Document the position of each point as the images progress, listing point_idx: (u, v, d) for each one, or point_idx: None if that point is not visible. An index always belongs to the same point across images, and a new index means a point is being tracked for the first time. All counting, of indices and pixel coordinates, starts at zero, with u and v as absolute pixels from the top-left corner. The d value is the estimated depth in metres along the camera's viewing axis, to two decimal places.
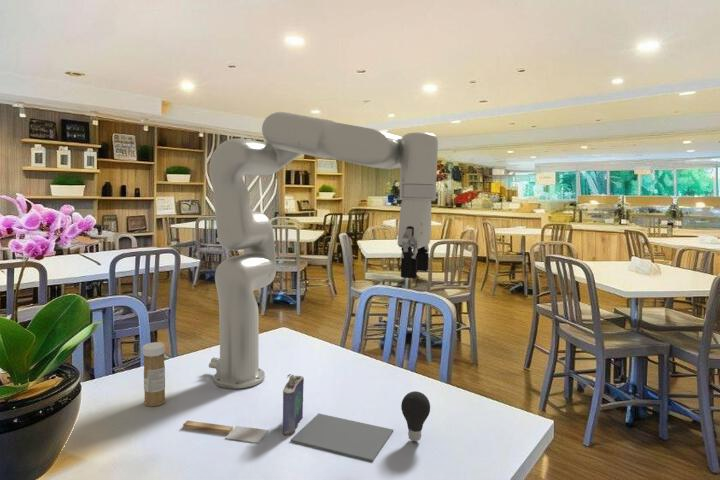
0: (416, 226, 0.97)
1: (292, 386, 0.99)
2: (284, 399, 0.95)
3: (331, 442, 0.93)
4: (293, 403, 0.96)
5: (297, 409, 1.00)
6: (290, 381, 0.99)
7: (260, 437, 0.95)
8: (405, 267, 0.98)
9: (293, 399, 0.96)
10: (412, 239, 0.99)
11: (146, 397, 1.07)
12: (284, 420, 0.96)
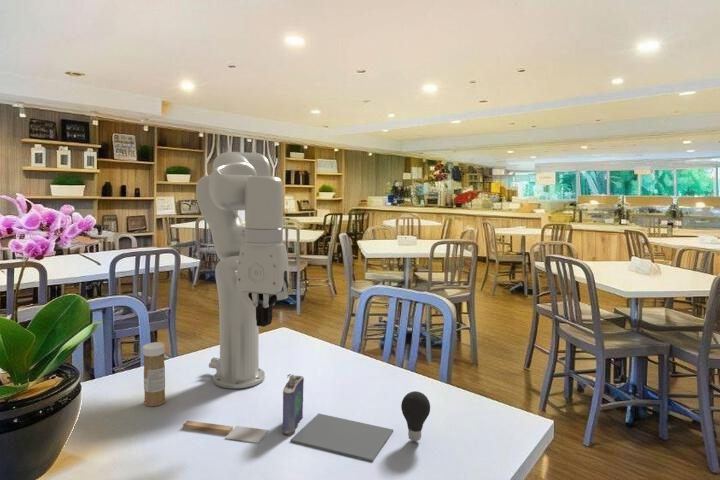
0: (288, 269, 0.99)
1: (292, 386, 0.99)
2: (284, 399, 0.95)
3: (331, 442, 0.93)
4: (293, 403, 0.96)
5: (297, 409, 1.00)
6: (290, 381, 0.99)
7: (260, 437, 0.95)
8: (269, 315, 0.99)
9: (293, 399, 0.96)
10: None
11: (146, 397, 1.07)
12: (284, 420, 0.96)
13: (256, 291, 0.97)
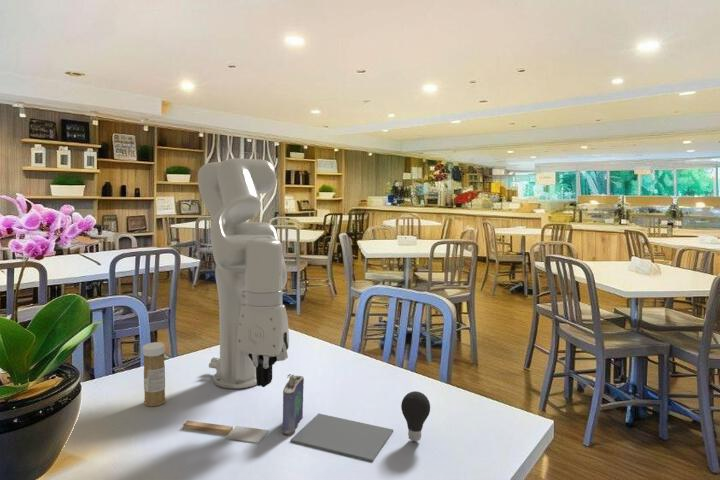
0: (287, 330, 1.00)
1: (292, 386, 0.99)
2: (284, 399, 0.95)
3: (331, 442, 0.93)
4: (293, 403, 0.96)
5: (297, 409, 1.00)
6: (290, 381, 0.99)
7: (260, 437, 0.95)
8: (269, 375, 1.01)
9: (293, 399, 0.96)
10: None
11: (146, 397, 1.07)
12: (284, 420, 0.96)
13: (256, 353, 0.99)
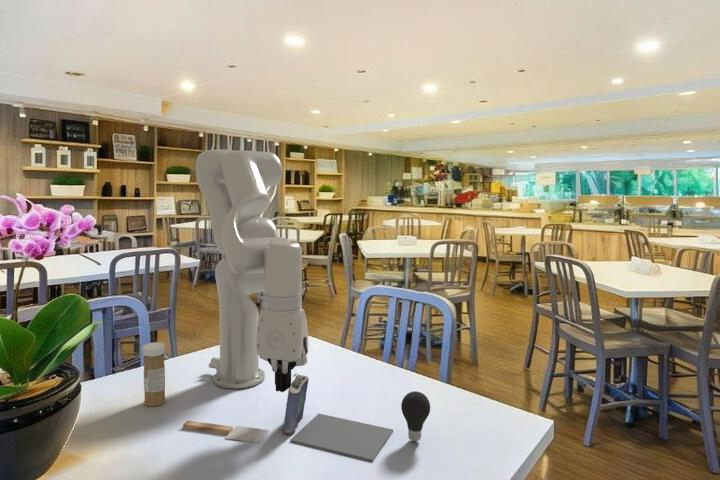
0: (307, 335, 0.98)
1: (297, 386, 0.99)
2: (289, 398, 0.95)
3: (331, 442, 0.93)
4: (297, 403, 0.96)
5: (299, 409, 1.00)
6: (296, 381, 0.99)
7: (260, 437, 0.95)
8: (288, 380, 0.99)
9: (297, 399, 0.96)
10: None
11: (146, 397, 1.07)
12: (286, 419, 0.96)
13: (275, 358, 0.97)
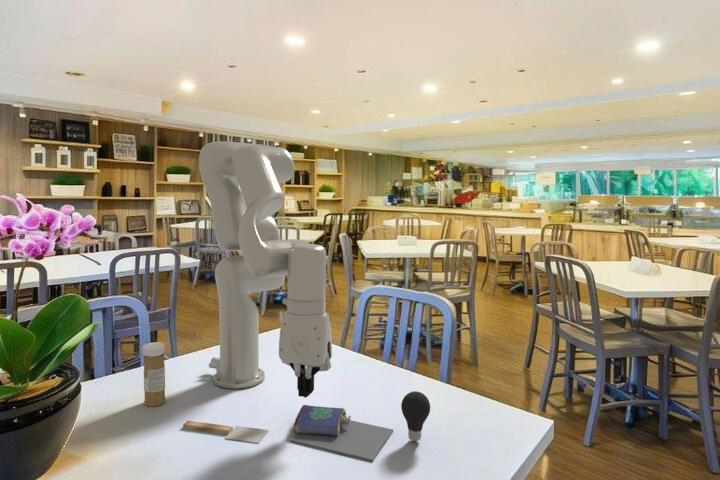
0: (331, 339, 0.97)
1: (339, 422, 0.98)
2: (330, 428, 0.95)
3: (331, 442, 0.93)
4: None
5: None
6: (344, 420, 0.98)
7: (260, 437, 0.95)
8: (311, 386, 0.97)
9: (330, 434, 0.95)
10: None
11: (146, 397, 1.07)
12: (308, 427, 0.95)
13: (299, 362, 0.95)
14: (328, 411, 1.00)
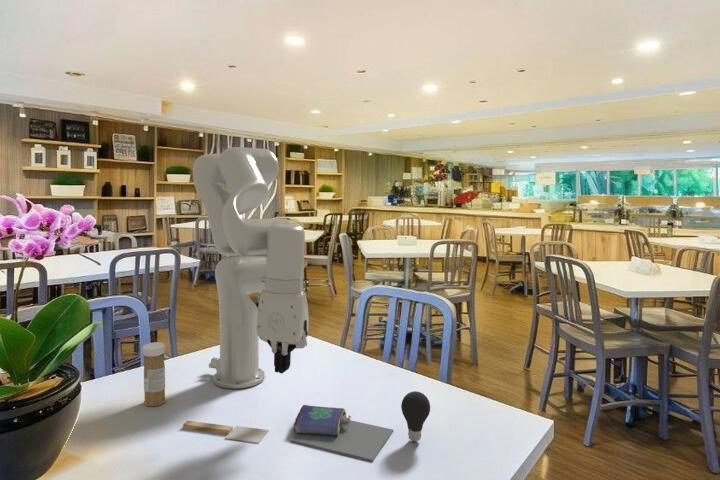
0: (307, 318, 0.98)
1: (339, 422, 0.98)
2: (330, 428, 0.95)
3: (331, 442, 0.93)
4: None
5: None
6: (344, 420, 0.98)
7: (260, 437, 0.95)
8: (287, 362, 1.00)
9: (330, 434, 0.95)
10: None
11: (146, 397, 1.07)
12: (308, 427, 0.95)
13: (275, 339, 0.97)
14: (328, 411, 1.00)
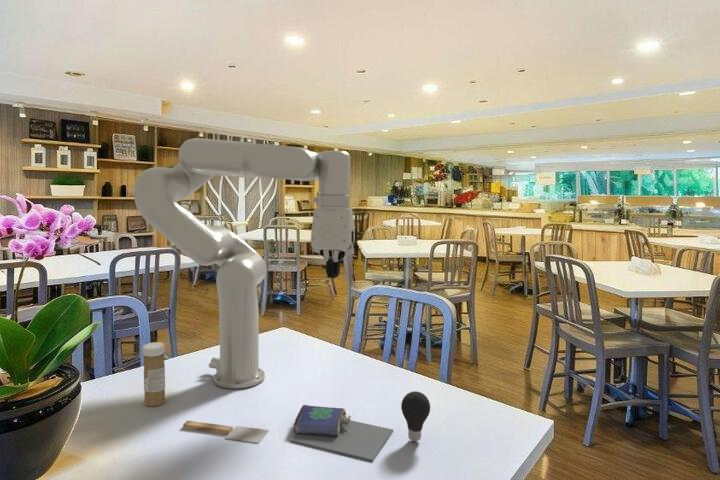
0: (354, 229, 1.17)
1: (339, 422, 0.98)
2: (330, 428, 0.95)
3: (331, 442, 0.93)
4: None
5: None
6: (344, 420, 0.98)
7: (260, 437, 0.95)
8: (337, 269, 1.18)
9: (330, 434, 0.95)
10: None
11: (146, 397, 1.07)
12: (308, 427, 0.95)
13: (328, 247, 1.16)
14: (328, 411, 1.00)
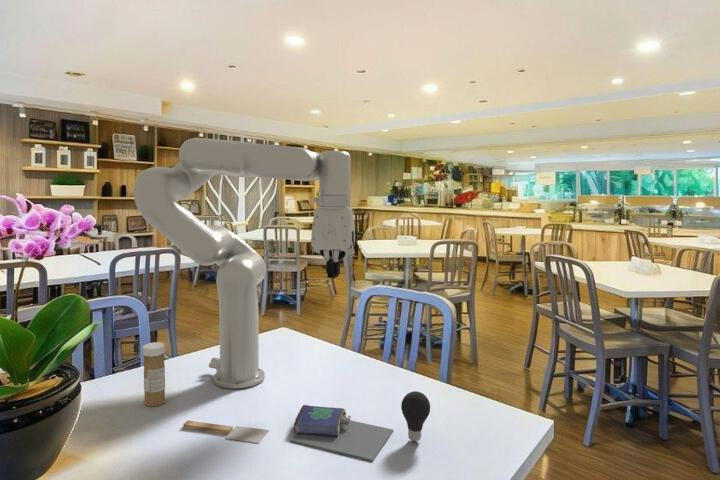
0: (354, 230, 1.17)
1: (339, 422, 0.98)
2: (330, 428, 0.95)
3: (331, 442, 0.93)
4: None
5: None
6: (344, 420, 0.98)
7: (260, 437, 0.95)
8: (337, 269, 1.18)
9: (330, 434, 0.95)
10: None
11: (146, 397, 1.07)
12: (308, 427, 0.95)
13: (328, 247, 1.16)
14: (328, 411, 1.00)
